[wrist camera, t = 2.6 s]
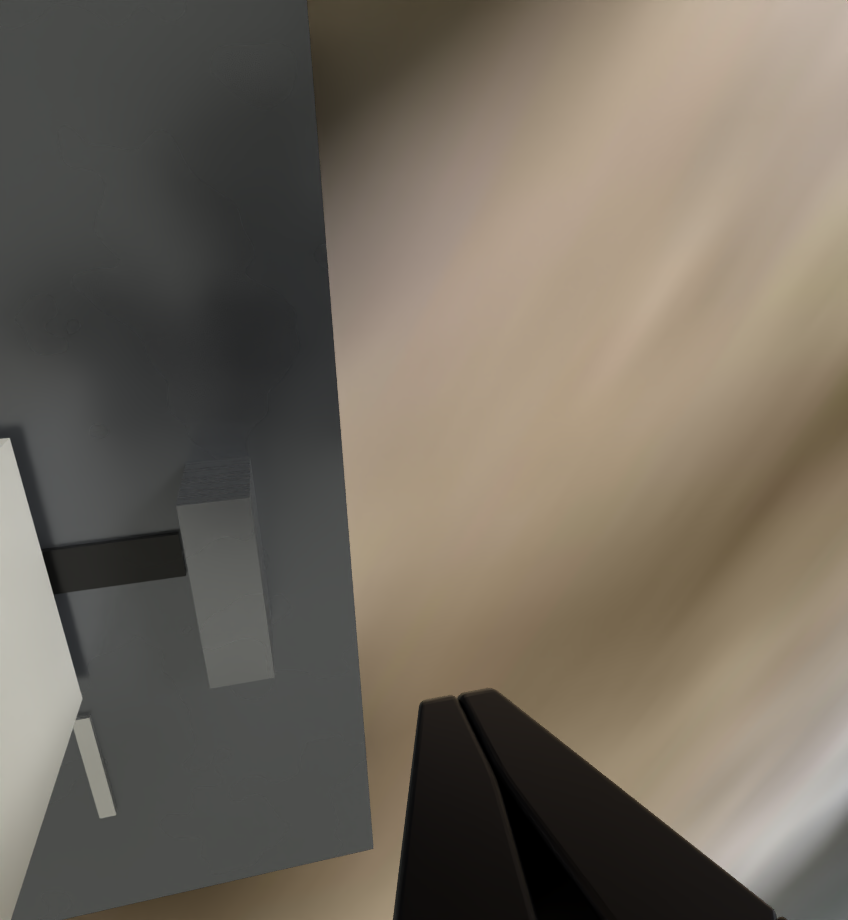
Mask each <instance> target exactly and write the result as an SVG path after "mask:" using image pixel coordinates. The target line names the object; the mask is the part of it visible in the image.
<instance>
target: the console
mask: <svg viewBox="0 0 848 920" xmlns="http://www.w3.org/2000/svg"><path fill="white" fill-rule="evenodd" d="M3 438H10V441H11V445H12V448H13V452H14V455H15V459H16V462H17V466H18V470H19V473H20V477H21V480H22V484H23V487H24V491H25V495H26V498H27V502H28V505H29V509H30V513H31V516H32V520H33V523H34V527H35V530H36V534H37V538H38V541H39V545H40V548H41V552H42V555H43V559H44V563H45V566H46V570H47V573H48V577H49V581H50V584H51V588H52V591H53V595H54V598H55V602H56V606H57V609H58V613H59V616H60V620H61V623H62V627H63V631H64V634H65V638H66V641H67V645H68V649H69V652H70V656H71V659H72V663H73V666H74V670H75V674H76V677H77V681H78V684H79V688H80V692H81V695H82V702H81V705H80V708H79V711H78V714H77V717H76V720H75V723H74V726H73V729H72V733H71V736H70V739H69V742H68V745H67V748H66V751H65V754H64V757H63V760H62V763H61V766H60V770H59V773H58V776H57V779H56V782H55V785H54V788H53V791H52V794H51V797H50V800H49V804H48V807H47V810H46V813H45V816H44V819H43V822H42V825H41V828H40V831H39V834H38V837H37V841H36V844H35V847H34V850H33V853H32V856H31V859H30V862H29V865H28V868H27V871H26V875H25V878H24V881H23V884H22V887H21V890H20V893H19V896H18V899H17V902H16V905H15V908H14V912H13V915H12V918H11V920H63V919H67V918H72V917H76V916H81V915H85V914H89V913H94V912H98V911H103V910H107V909H111V908H116V907H120V906H124V905H129V904H133V903H138V902H142V901H146V900H151V899H155V898H160V897H164V896H168V895H173V894H177V893H181V892H186V891H190V890H195V889H199V888H203V887H208V886H212V885H217V884H221V883H225V882H230V881H234V880H238V879H243V878H247V877H252V876H256V875H260V874H265V873H269V872H273V871H278V870H282V869H287V868H291V867H295V866H300V865H304V864H309V863H313V862H317V861H322V860H326V859H330V858H335V857H339V856H344V855H348V854H352V853H357V852H361V851H366V850H370V849H373V837H372V824H371V812H370V799H369V786H368V773H367V761H366V748H365V735H364V722H363V710H362V697H361V684H360V671H359V659H358V646H357V633H356V620H355V607H354V595H353V582H352V569H351V556H350V544H349V531H348V518H347V505H346V493H345V480H344V467H343V454H342V442H341V429H340V416H339V403H338V391H337V378H336V365H335V352H334V340H333V327H332V314H331V301H330V289H329V276H328V263H327V250H326V237H325V225H324V212H323V199H322V186H321V174H320V161H319V148H318V135H317V123H316V110H315V97H314V84H313V72H312V59H311V46H310V33H309V21H308V8H307V0H0V439H3Z"/></svg>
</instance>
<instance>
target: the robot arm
mask: <svg viewBox="0 0 848 920" xmlns="http://www.w3.org/2000/svg"><path fill="white" fill-rule="evenodd" d="M393 920H787V919H786V918H784V917H779V918H778V919H777V917H776V913H775V911H774V909H773V908H772V907H770V906H769V905H768V904H766V903H765V902H764V901H763V900H761V899H760V898H759V897H758V896H756V895H755V894H754V893H753V892H751V891H750V890H749V889H748V888H746V887H745V886H744V885H742V884H741V883H740V882H739V881H737V880H736V879H735V878H734V877H732V876H731V875H730V874H729V873H727V872H726V871H725V870H723V869H722V868H721V867H720V866H718V865H717V864H716V863H715V862H713V861H712V860H711V859H710V858H708V857H707V856H706V855H704V854H703V853H702V852H701V851H699V850H698V849H697V848H696V847H694V846H693V845H692V844H691V843H689V842H688V841H687V840H685V839H684V838H683V837H682V836H680V835H679V834H678V833H677V832H675V831H674V830H673V829H672V828H670V827H669V826H668V825H666V824H665V823H664V822H663V821H661V820H660V819H659V818H658V817H656V816H655V815H654V814H653V813H651V812H650V811H649V810H648V809H646V808H645V807H644V806H642V805H641V804H640V803H639V802H637V801H636V800H635V799H634V798H632V797H631V796H630V795H629V794H627V793H626V792H625V791H623V790H622V789H621V788H620V787H618V786H617V785H616V784H615V783H613V782H612V781H611V780H610V779H608V778H607V777H606V776H604V775H603V774H602V773H601V772H599V771H598V770H597V769H596V768H594V767H593V766H592V765H591V764H589V763H588V762H587V761H585V760H584V759H583V758H582V757H580V756H579V755H578V754H577V753H575V752H574V751H573V750H572V749H570V748H569V747H568V746H566V745H565V744H564V743H563V742H561V741H560V740H559V739H558V738H556V737H555V736H554V735H553V734H551V733H550V732H549V731H547V730H546V729H545V728H544V727H542V726H541V725H540V724H539V723H537V722H536V721H535V720H534V719H532V718H531V717H530V716H529V715H527V714H526V713H525V712H523V711H522V710H521V709H520V708H518V707H517V706H516V705H515V704H513V703H512V702H511V701H510V700H508V699H507V698H506V697H504V696H503V695H502V694H501V693H499V692H498V691H497V690H494V689H492V688H486V689H480V690H475V691H469V692H464V693H461V694H460V695H459V696H458V698H456V697H455V696H453V695H448V696H443V697H437V698H432V699H427V700H423V701H422V702H421V703H420V705H419V711H418V719H417V728H416V736H415V744H414V752H413V760H412V768H411V776H410V785H409V793H408V801H407V809H406V817H405V825H404V833H403V842H402V850H401V858H400V866H399V874H398V882H397V890H396V899H395V907H394V915H393Z"/></svg>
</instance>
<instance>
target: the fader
mask: <svg viewBox="0 0 848 920" xmlns="http://www.w3.org/2000/svg"><path fill="white" fill-rule="evenodd" d="M81 702H82V695H81V692H80V688H79V684H78V681H77V677H76V674H75V670H74V666H73V663H72V659H71V656H70V652H69V649H68V645H67V641H66V638H65V634H64V631H63V627H62V623H61V620H60V616H59V613H58V609H57V606H56V602H55V598H54V595H53V591H52V588H51V584H50V581H49V577H48V573H47V570H46V566H45V563H44V559H43V555H42V552H41V548H40V545H39V541H38V538H37V534H36V530H35V527H34V523H33V520H32V516H31V513H30V509H29V505H28V502H27V498H26V495H25V491H24V487H23V484H22V480H21V477H20V473H19V470H18V466H17V462H16V459H15V455H14V452H13V448H12V445H11V441H10V438H3V439H0V920H11V918H12V915H13V912H14V908H15V905H16V902H17V899H18V896H19V893H20V890H21V887H22V884H23V881H24V878H25V875H26V871H27V868H28V865H29V862H30V859H31V856H32V853H33V850H34V847H35V844H36V841H37V837H38V834H39V831H40V828H41V825H42V822H43V819H44V816H45V813H46V810H47V807H48V804H49V800H50V797H51V794H52V791H53V788H54V785H55V782H56V779H57V776H58V773H59V770H60V766H61V763H62V760H63V757H64V754H65V751H66V748H67V745H68V742H69V739H70V736H71V733H72V729H73V726H74V723H75V720H76V717H77V714H78V711H79V708H80V705H81Z"/></svg>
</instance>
